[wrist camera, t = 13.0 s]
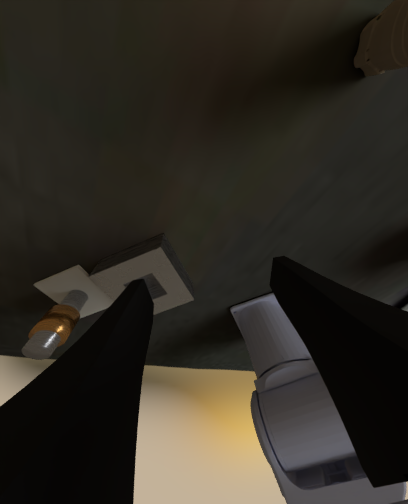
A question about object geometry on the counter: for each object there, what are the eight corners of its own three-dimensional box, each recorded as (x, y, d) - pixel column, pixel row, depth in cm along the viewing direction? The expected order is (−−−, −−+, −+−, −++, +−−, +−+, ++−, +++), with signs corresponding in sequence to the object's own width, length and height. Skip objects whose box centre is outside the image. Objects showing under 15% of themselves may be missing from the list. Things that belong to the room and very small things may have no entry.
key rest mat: (117, 302, 23) (116, 304, 22) (80, 316, 23) (78, 318, 23) (78, 264, 19) (76, 266, 19) (35, 282, 20) (33, 285, 19)
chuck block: (192, 282, 22) (194, 299, 20) (140, 302, 23) (135, 321, 21) (163, 233, 18) (160, 246, 16) (100, 259, 19) (88, 276, 17)
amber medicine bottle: (93, 290, 21) (57, 344, 15) (90, 307, 22) (55, 363, 16) (65, 284, 20) (14, 339, 14) (63, 302, 21) (16, 360, 15)
